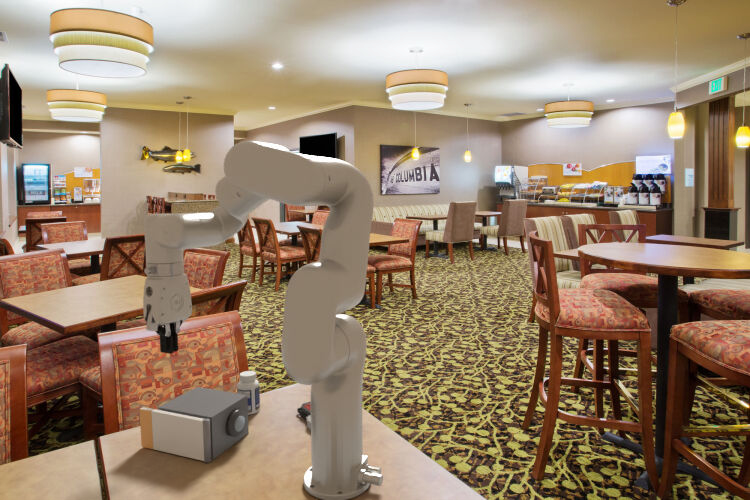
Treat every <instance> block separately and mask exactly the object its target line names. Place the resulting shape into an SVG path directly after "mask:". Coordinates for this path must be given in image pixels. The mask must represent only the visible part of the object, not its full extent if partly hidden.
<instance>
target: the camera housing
mask: <svg viewBox="0 0 750 500" xmlns="http://www.w3.org/2000/svg"><path fill="white" fill-rule="evenodd" d="M157 410H162V411H167V412H172V413H177V414H182V415H187V416H193V417H198V418H203V419H210V434H211V459H212V461H213V460H215V459H216V458H217V457H219V456H220V455H222V454H223V453H224V452H226V451H227V450H229V449H230V448H231V447H232V446H234V445H235V444H236V443H238V442H239V441H241V439H244V437H246V436H247V435H249V415H248V399H247V395H243V394H237V393H236V392H231V391H226V390H225V391H223V390H218V389H212V388H207V387H201V386H196V387H194V388H192V389H190V390H188V391H186V392H185V393H183V394H181V395H179V396H177V397H175V398H173V399H171V400H170V401H167V402H165V403H163V404H161V405H159V406H158V407H157Z"/></svg>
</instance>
